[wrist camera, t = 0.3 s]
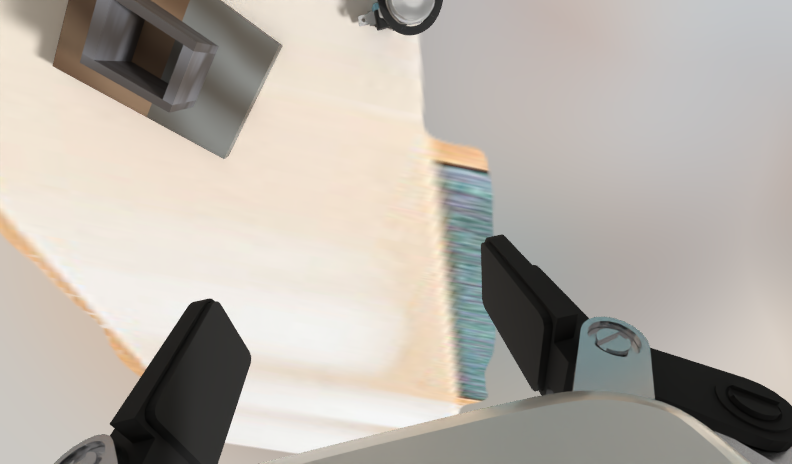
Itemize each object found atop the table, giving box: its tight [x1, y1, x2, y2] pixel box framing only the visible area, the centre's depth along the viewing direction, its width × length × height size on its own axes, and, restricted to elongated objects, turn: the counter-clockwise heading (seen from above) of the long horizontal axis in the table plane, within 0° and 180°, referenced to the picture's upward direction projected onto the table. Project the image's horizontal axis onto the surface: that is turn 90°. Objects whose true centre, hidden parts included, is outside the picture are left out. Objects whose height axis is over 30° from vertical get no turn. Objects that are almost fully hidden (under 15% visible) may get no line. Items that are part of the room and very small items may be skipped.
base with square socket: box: [53, 0, 282, 159], centre depth 28 cm, size 14×16×6 cm
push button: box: [358, 0, 443, 35], centre depth 27 cm, size 7×5×10 cm
